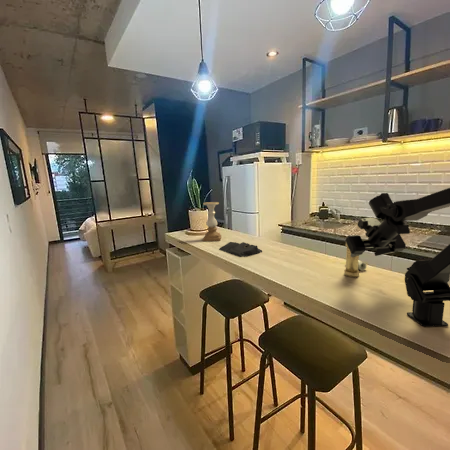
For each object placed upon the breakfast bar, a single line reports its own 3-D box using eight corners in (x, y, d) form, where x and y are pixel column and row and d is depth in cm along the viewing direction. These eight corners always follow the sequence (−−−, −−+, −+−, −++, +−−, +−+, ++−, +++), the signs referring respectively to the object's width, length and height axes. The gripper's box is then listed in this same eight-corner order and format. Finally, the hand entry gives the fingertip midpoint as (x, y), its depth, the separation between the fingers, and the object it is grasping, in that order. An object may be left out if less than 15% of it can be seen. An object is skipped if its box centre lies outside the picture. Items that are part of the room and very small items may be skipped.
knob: (359, 277, 100) (361, 244, 98) (344, 276, 102) (346, 243, 100) (358, 273, 105) (359, 241, 103) (343, 272, 107) (345, 240, 105)
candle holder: (220, 241, 166) (218, 203, 162) (202, 241, 167) (201, 203, 163) (221, 237, 177) (220, 201, 173) (205, 237, 178) (203, 202, 174)
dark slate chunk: (237, 245, 156) (237, 237, 156) (264, 253, 139) (264, 244, 138) (216, 250, 147) (216, 241, 146) (242, 258, 130) (242, 249, 129)
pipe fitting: (352, 273, 107) (366, 270, 109) (352, 264, 106) (366, 261, 108) (339, 266, 115) (352, 264, 116) (339, 258, 114) (352, 255, 116)
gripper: (401, 209, 89) (377, 235, 101) (349, 212, 87) (331, 238, 99) (419, 237, 82) (391, 261, 95) (363, 240, 80) (342, 264, 93)
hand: (363, 255), depth 96 cm, fingers open, 9 cm apart
